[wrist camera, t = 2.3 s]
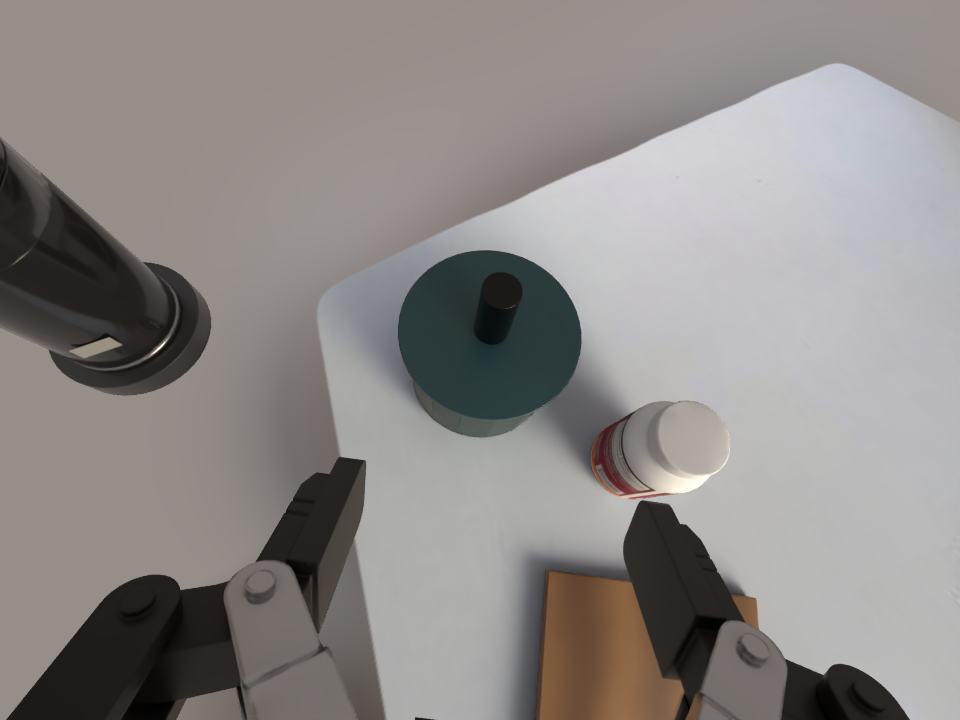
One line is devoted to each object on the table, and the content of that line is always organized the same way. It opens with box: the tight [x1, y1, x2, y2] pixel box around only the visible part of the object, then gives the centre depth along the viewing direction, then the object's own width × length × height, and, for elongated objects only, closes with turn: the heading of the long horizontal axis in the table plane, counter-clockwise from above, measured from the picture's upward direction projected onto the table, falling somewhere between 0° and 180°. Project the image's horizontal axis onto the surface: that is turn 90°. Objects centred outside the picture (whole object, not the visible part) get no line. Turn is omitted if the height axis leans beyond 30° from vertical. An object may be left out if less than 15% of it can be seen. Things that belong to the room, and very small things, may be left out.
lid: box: [398, 250, 581, 421], centre depth 28 cm, size 13×13×7 cm
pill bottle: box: [591, 401, 730, 499], centre depth 32 cm, size 6×6×11 cm
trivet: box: [536, 570, 759, 720], centre depth 31 cm, size 16×14×1 cm
